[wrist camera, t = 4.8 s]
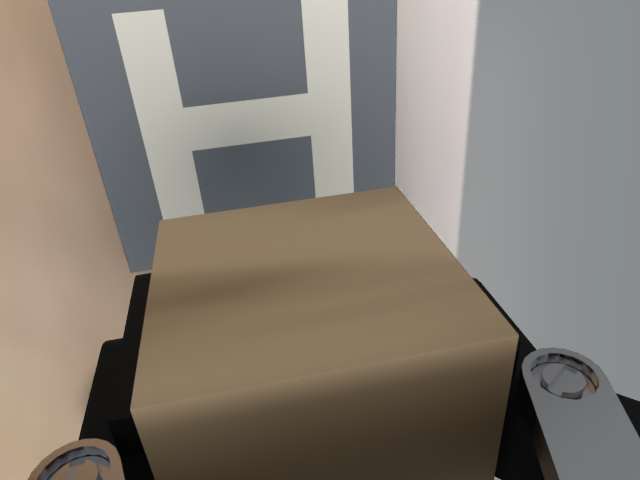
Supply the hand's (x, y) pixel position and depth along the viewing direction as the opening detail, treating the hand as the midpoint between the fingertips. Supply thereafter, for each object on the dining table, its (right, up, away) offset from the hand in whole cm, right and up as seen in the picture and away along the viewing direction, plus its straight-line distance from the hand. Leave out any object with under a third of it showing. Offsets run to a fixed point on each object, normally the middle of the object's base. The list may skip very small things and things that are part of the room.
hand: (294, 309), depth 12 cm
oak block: (0, 0, 0) cm, 0 cm away
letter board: (-3, +8, +13) cm, 15 cm away
